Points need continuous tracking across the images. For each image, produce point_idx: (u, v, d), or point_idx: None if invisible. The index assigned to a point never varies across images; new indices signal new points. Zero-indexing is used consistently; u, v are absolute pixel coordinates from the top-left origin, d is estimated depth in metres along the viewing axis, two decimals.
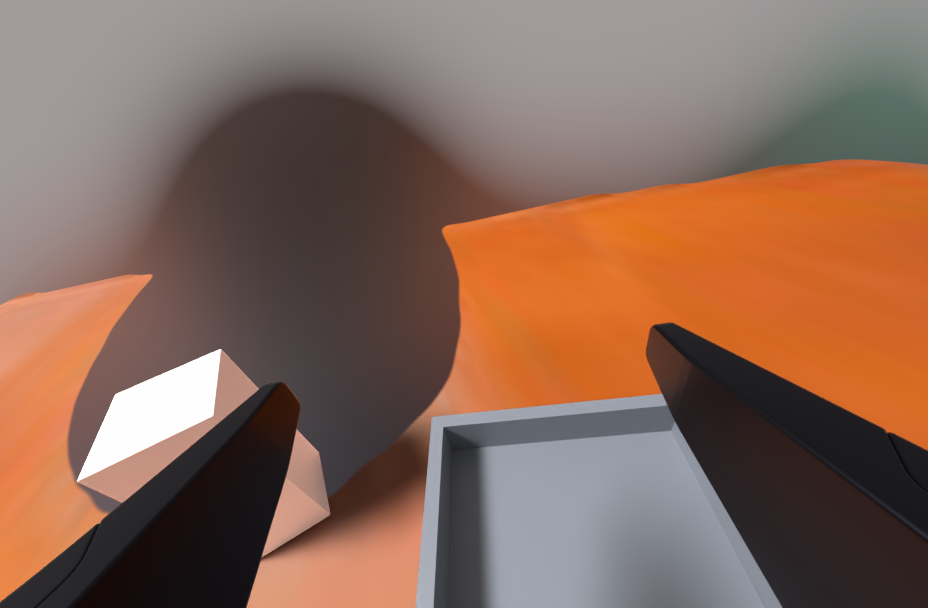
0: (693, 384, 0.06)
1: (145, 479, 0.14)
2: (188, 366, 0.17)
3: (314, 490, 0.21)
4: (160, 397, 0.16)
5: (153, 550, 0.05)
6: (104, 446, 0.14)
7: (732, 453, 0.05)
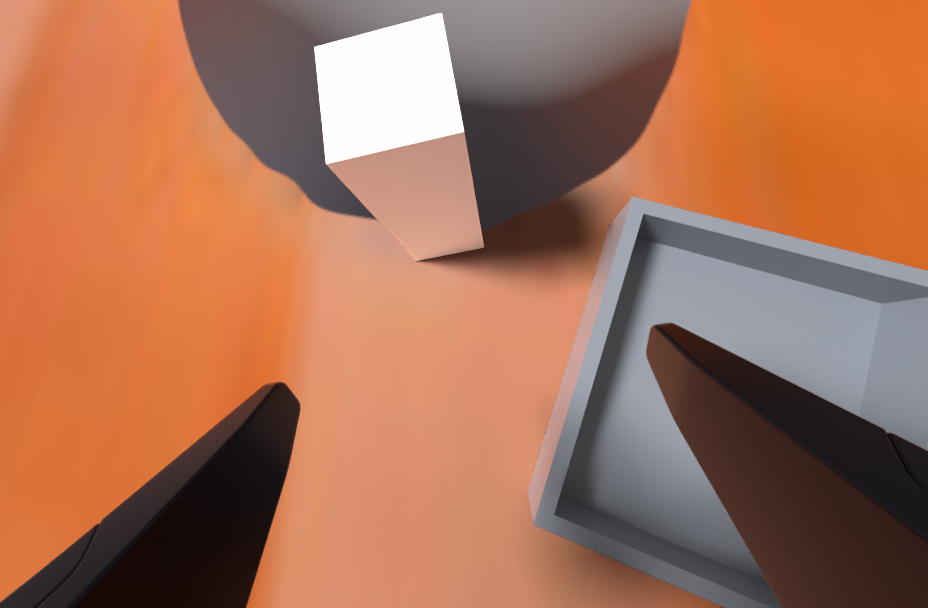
0: (693, 384, 0.06)
1: (378, 179, 0.13)
2: (401, 32, 0.12)
3: None
4: (380, 74, 0.12)
5: (153, 550, 0.05)
6: (337, 127, 0.12)
7: (732, 453, 0.05)
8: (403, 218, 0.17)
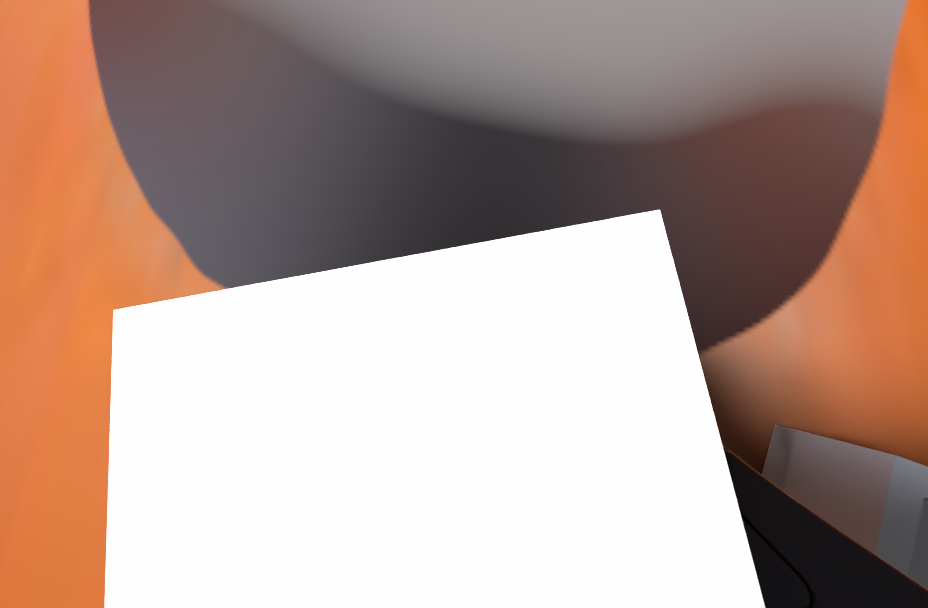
0: None
1: None
2: (471, 286, 0.03)
3: None
4: (376, 499, 0.03)
5: None
6: None
7: None
8: None
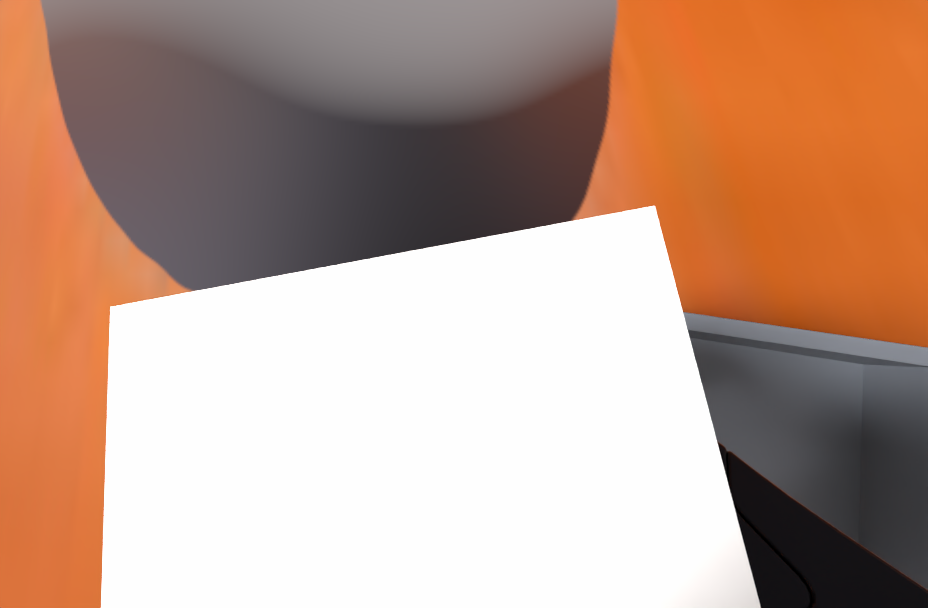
0: None
1: None
2: (467, 282, 0.03)
3: None
4: (371, 495, 0.03)
5: None
6: None
7: None
8: None
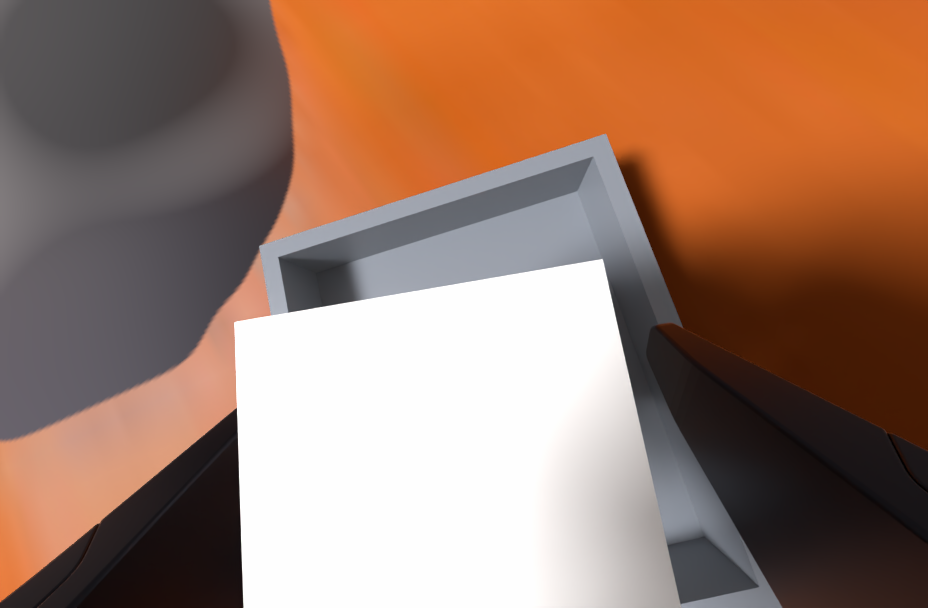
0: (693, 384, 0.06)
1: None
2: (480, 307, 0.04)
3: None
4: (419, 445, 0.04)
5: (153, 550, 0.05)
6: None
7: (732, 453, 0.05)
8: None
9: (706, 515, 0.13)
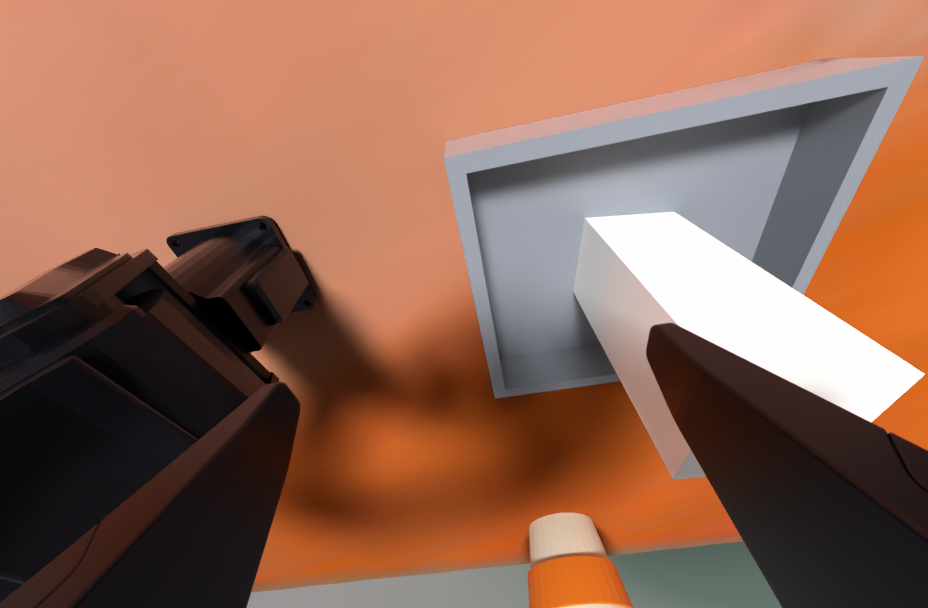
0: (693, 384, 0.06)
1: None
2: None
3: None
4: None
5: (153, 550, 0.05)
6: None
7: (732, 453, 0.05)
8: (632, 305, 0.14)
9: (519, 364, 0.24)
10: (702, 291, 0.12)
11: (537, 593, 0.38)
